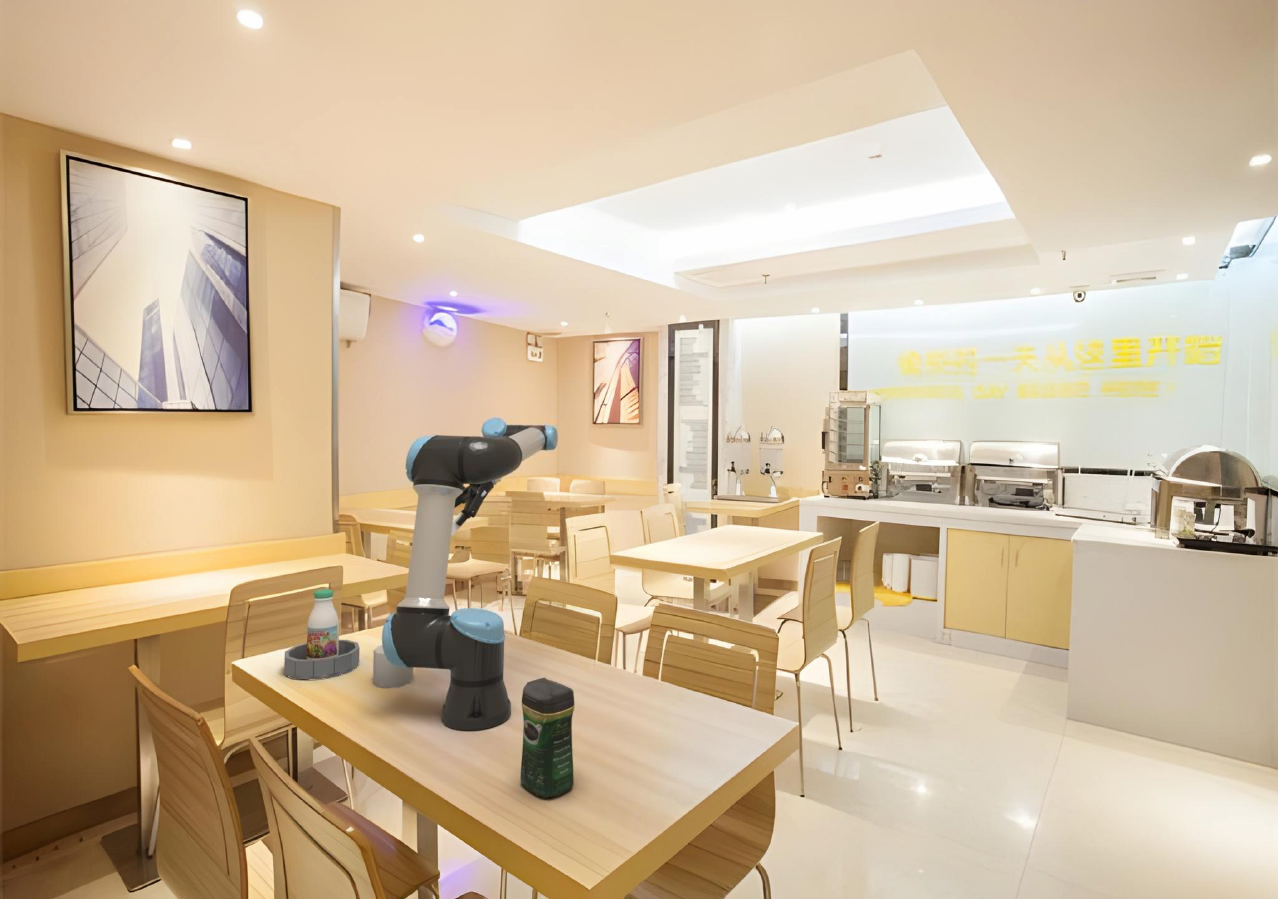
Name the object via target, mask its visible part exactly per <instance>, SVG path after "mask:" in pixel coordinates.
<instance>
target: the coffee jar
mask: <svg viewBox="0 0 1278 899" xmlns="http://www.w3.org/2000/svg"><path fill="white" fill-rule="evenodd" d="M574 694H575V693H574V689H573V688H571V687H569V686H566V685H564V684H561V683H559V682H557V681H554V680H550V679H547V678H546V677H541V678H537V679H533V680H531V681H527V682H526V684H525V685H524V687H523V689H522V695H521V696H522V697H521V710H522V716H523V717H522V720H523V728H522V729H523V731H522V732H523V735H522V749H521V750H522V751H521V752H522V753H521V763H520V764H521V765H520V782H521V785H522V786H524V788H526V789H527V790H528V791H529V792H531V793H533V794H535V795H536V796H539V797H542V798H550V797H559V796H560V795H563V794H564V793H566V792H567V791H569V790H570V789H571V788H572V787H573V785H574V756H573V731H572V730H573V728H572V726H573V725H572V724H573V715H574V711H575V706H576V705H575V695H574Z"/></svg>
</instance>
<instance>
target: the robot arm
mask: <svg viewBox="0 0 1278 899" xmlns="http://www.w3.org/2000/svg"><path fill="white" fill-rule="evenodd" d="M481 433H482V436H475V435H472V436H469V435H468V436H466V435H464V436H463V435H441V434H439V435H438V434H435V435H424V436H420V437H418V438H417V439H415V441H413V442H412V444H411V445H410V447H409V449H408V452H407V455H406V460H405V470H406V474H405V475H406V478H407V479H408V480H409V481H410V482H411V483H413V484H412V489H413V490H414V492H415V493H416V494H417V496H418V497H417V505H416V513H415V519H414V520H415V521H414V525H413V526H414V528H413V536H412V543H411V550H410V559H409V564H408V571H407V572H408V574H407V580H406V587H405V588H406V589H405V595H404V599H402V601H400V602H399V603H398V604H396V611H395V612H394V613H391V614H389V615H388V616H387V617H386V619H385V623H384V624H383V628H382V634H381V645H382V646H383V651H384V654H385V656H386V658H387V660H388V661H389V662H390V663H391V664H393V665H395V666H403V667H407V668H413V669H414V668H418V669H434V670H435V669H436V670H449V671H450V682H449V688H448V690H447V694H446V697H445V702H444V703H443V705H442V708H441V722H442V723H443V724H444V725H445V726H446V727H448V728H450V729H454V730H459V731H478V730H486V729H491V728H493V727H495V726H496V727H497V726H498V725H501V724H503V723H505V722H506V721H507V720H508V719H510V716H511V714H512V703H511V700H510V698H509V695H508V691H507V687H506V683H505V681H504V667H505V666H504V665H505V664H504V663H505V657H504V655H505V639H506V638H505V637H506V635H505V629H504V628H505V627H504V620H503V617H501V616H500V615H499V614H497V613H496V612H494V611H492V610H488V609H484V608H483V609H482V608H475V607H472V608H466V607H465V608H459V609H456V610H454V611H453V612H452V613H451V615H450V608H451V607H450V606H449V605H448V604H447V602H446V601H445V592H446V584H447V575H448V565H449V558H450V549H451V548H450V547H451V541H452V537H453V536H454V535H455V534H456V533H457V532H458V530H460V528H461V527H462V526H463V525H464V523H466V521H467V520H469V519H471V518H475V517H476V515H477V514H478V511H479V510H480V507H481V506H482V504H483V502H484V500H485V499H486V498H487V496H488V494H489V493H490V492H492V490H493V489H494V486H496V485H497V483H499V482H501V481H502V479H503V477H505V476H508V475H510V474H512V473H513V472H515V471H516V470H517V469H519V467H520V466H521V464H522V462H524V461H525V460H526V459H528V458H530V457H531V456H534V455H535V454H537V453H538V452H540V451H546V452H547V451H554V450H555V449H556V448H557V446H558V441H559V440H558V437H559V436H558V430H557V427H556V426H554V425H546V424H544V425H543V424H542V425H541V424H540V425H538V424H537V425H536V424H535V425H533V424H529V425H528V424H526V425H523V424H506V422H505V421H504V420H503V419H502V418H499V417H491V418H489V419H487V420H486V421H484V422H483V424H482V426H481ZM465 485H468V486H466V487H465ZM462 504H464V508H463V509H462V510H461V511H460V512H459V513H458V515H457V516H456V517H454V515H455V508H457V507H458V506H460V505H462Z"/></svg>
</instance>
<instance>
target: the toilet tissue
mask: <svg viewBox="0 0 1278 899" xmlns="http://www.w3.org/2000/svg"><path fill="white" fill-rule="evenodd" d="M372 658H373V660H372V662H373V665H372V666H373V667H372V668H373V671H372V672H373V674H372V678H373V679H372V683H373V685H374V686H375V687H376V688H381V689H394V688H400V687H404V686H406V684H407V685H409V684H410V683H412V681H413V680H414V668H407V667H403V666H395V665H393V664H391V663H390V662H389V661H388V660H387V658H386V656H385V654H384V651H383V646H382V644H381V645H378V646H376V647H375V648H374V649H373V657H372ZM412 679H413V680H412Z"/></svg>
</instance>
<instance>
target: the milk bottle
mask: <svg viewBox="0 0 1278 899" xmlns="http://www.w3.org/2000/svg"><path fill="white" fill-rule="evenodd" d="M313 597H314V599H313V600H314V605H313V608H312V610H311V612H310V615H309V617H308V621H307V628H306V629H307V631H306V643H307V660H317V659H325V658H333V657H336V656H338V652H339V640H340V639H339V638H340V637H339V636H340V635H339V634H340V633H339V631H340V629H339V628H340V626H339V623H340V622H339V617H338V613H337V611H336V609H335V606H334V605H333V598H334V590H332V589H331V588H329V589H328V588H323V589H318V590H315V591H314V594H313Z"/></svg>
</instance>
